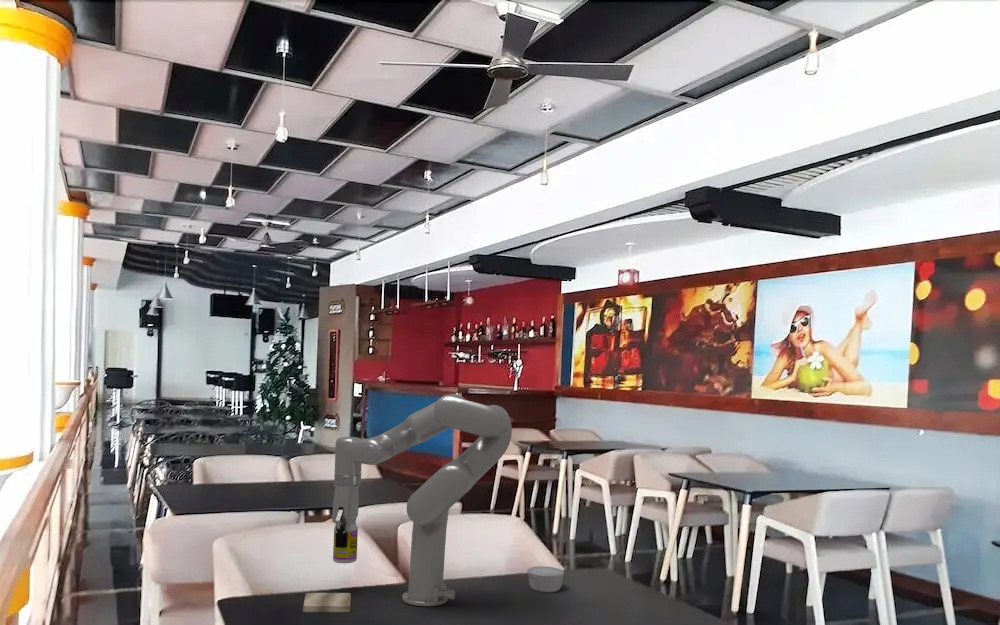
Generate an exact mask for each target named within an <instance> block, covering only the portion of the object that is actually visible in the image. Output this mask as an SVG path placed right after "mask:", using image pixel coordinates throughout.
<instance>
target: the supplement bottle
mask: <svg viewBox="0 0 1000 625" xmlns="http://www.w3.org/2000/svg"><path fill="white" fill-rule="evenodd" d="M354 520H355V515H354V516H353V518H352V521H351V522H349V523H348V525H347V530H346V533H347V547H346V548H337V547H335V542H336V524H334V528H333V549H332V550H333V552H332V560H333V562H334V563H336V564H351V563H352V564H353V563H354V562H355V563H356V561H357V559H358V538H359V537H358V535H359V534H358V531H359V526H358V525H357V523H356V524H354ZM341 521H345V520H341ZM341 525H342V524H341ZM343 527H344V525H343Z"/></svg>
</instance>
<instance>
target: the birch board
mask: <svg viewBox="0 0 1000 625" xmlns="http://www.w3.org/2000/svg"><path fill="white" fill-rule="evenodd" d="M351 601H352V600H351V592H306V593H305V596H304V602H303V606H302V613H350V612H351V603H352V602H351Z"/></svg>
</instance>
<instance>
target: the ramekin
mask: <svg viewBox="0 0 1000 625" xmlns="http://www.w3.org/2000/svg"><path fill="white" fill-rule="evenodd" d="M526 571H527V572H526V574H527V576H528V586H529V587H530V589H531V590H534V591H536V592H542V593H555V592H559V591H560V590H561V589H562V585H563V580H564V576H565V571H564V570H563V569H561V568H557V567H553V566H542V565H541V566H531V567H529V568H528V569H527V570H526Z"/></svg>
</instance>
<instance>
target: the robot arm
mask: <svg viewBox="0 0 1000 625" xmlns="http://www.w3.org/2000/svg"><path fill="white" fill-rule="evenodd" d="M449 429H455V430H458V431H461V432H465V433H468V434H472V435H475V436H478V437H477V439H475V441H474V442H472V444H470V445H469V447H467V448H466V449H465V450H464V451H463V452H462V453H461V454H460V455H459V456H457V457H456V458H455V459H454V460H451V461H450V462H448V463H446V464H444V465H443V466H442V467H440V469H438V470H437V471H436V472H435V473H434V474H433V475H432V476H430V478H428V479H427V480H426V481H425V482H424V483H423V484H422V485H421V486H420V487H418V488H417V489H416V490H415V491H414V492H413V493H412V494H411V495H410V496H409V498H408V500H407V502H406V514H407V516H408V518H409V520H410V521H411V522H412V525H413V526H412V528H411V529H412V531H411V543H410V556H409V557H410V559H409V560H410V561H409V576H408V590H407V591H406V592H403V594H402V597H401V598H402V599H401V600H402V601H403V602H404V603H406V604H409V605H412V606H417V607H419V606H420V607H435V606H441V605H444V604H446V603H447V602H448V600H454V599H455V597H456V592H455V590H454V589H447V583H444V571H445V558H446V557H445V556H446V555H445V554H446V541H447V540H446V539H447V530H448V529H447V528H448V520H449V519H448V518H449V513H450V508H451V507H453V506H454V505H455V504H456V503H457V502H458V501H459V500H460V499H461V498H462V497H464V496H465V494H467V493H468V492H469V491H470V490H472V488H473V486H474V485H475V484H476V483H477V482H478V481H479V480H480V479H481V478H483V477H484V475H485V474H486V473H487V472H488V471H489V470H491V468H493V467H494V465H495V464H497V463H498V461H499V460H500V459H501V458H502V457H503V456H504V455H505V453H506V452H507V450H508V448H509V446H510V443H511V440H512V436H513V435H512V434H513V433H512V431H513V429H512V422H511V418H510V416H509V413H508V412H507V410H506V409H505V408H504V407H502V406H500V405H497V404H489V405H487V404H482V403H479V402H476V401H472V400H471V401H470V400H468V399H465V397H464V396H462V395H460V394H458V393H449V394H445V395H443V396H440V398H438V399H437V401H436V400H435V401H434V402H432V403H431V404H429V405H427V406H424V407H423V408H421V409H420V410H417V411H416V412H412V413H411V414H410V415H409V416H407V417H406V419H404V421H403V422H401V423H400V424H398V425H395V427H393V428H391V429H389V430H387V431H385V432H382V433H381V434H378V435H375V436H372V437H370V438H360V437H356V436H343V437H342V436H341V437H339V438H337V439H336V440H335V450H334V453H335V455H334V480H333V487H334V488H335V489H334V493H333V494H334V495H333V501H332V511H331V512H332V514H331V521H332V522H333V523H334V525H336V542H335V547H337V548H346V547H347V533H346V530H347V525H348V523H349V522H351V521H352V518H353V516H354V515H355V520H354V524H356V525H357V522H356V521H357V518H358V516H359V508H360V506H359V505H360V504H359V503H360V501H359V500H360V498H359V495H360V494H359V491H360V490H359V488H360V487H361V486H362V466H363V465H368V466H375V465H378V464H380V463H382V462H386V461H388V460H389V459H391V458H393V457H395V456H397V455H399V454H401V453H403V452H405V451H407V450H408V449H410V448H412V447H415V446H418V445H420V444H422V443H424V442H426V441H428V440H429V439H432V438H433V437H435V436H437V435H439V434H441V433H443V432H445V431H447V430H449ZM341 520H345V521H341ZM341 524H342V525H341ZM343 525H344V527H343Z"/></svg>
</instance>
